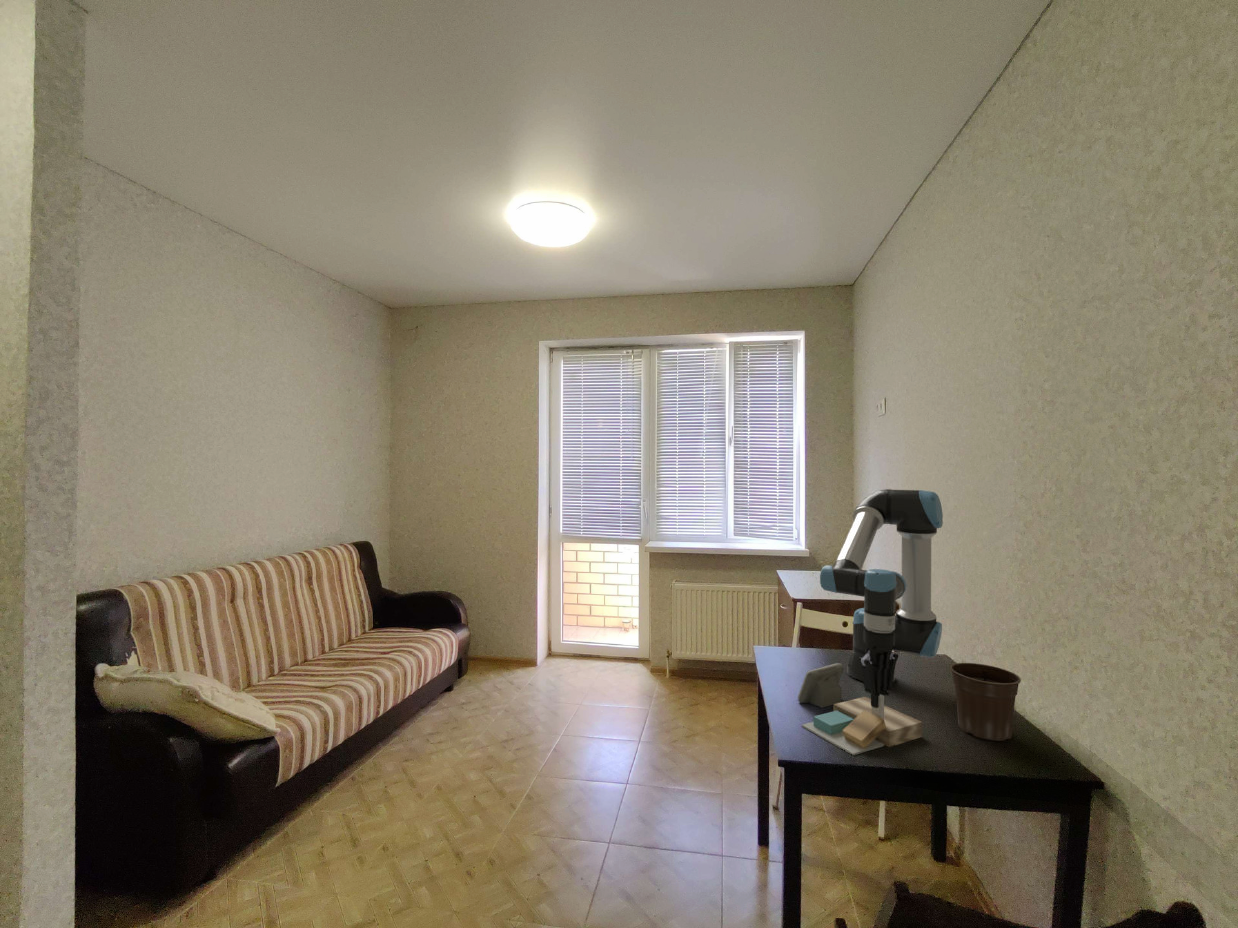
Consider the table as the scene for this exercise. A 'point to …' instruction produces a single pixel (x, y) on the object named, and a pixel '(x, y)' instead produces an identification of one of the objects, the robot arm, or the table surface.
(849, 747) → the mat
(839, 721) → the teal tile
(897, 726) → the platform
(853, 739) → the ochre tile
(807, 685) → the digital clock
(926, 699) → the table surface
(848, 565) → the robot arm
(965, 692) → the plant pot
